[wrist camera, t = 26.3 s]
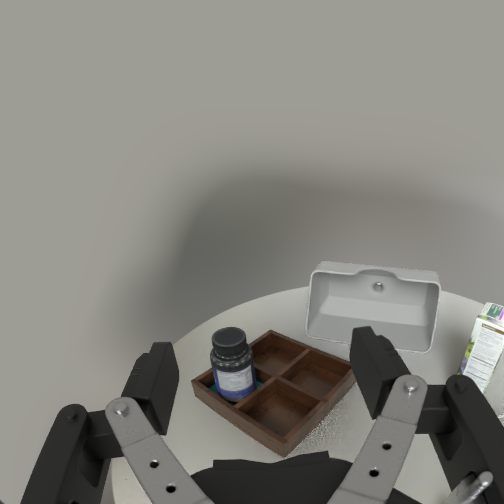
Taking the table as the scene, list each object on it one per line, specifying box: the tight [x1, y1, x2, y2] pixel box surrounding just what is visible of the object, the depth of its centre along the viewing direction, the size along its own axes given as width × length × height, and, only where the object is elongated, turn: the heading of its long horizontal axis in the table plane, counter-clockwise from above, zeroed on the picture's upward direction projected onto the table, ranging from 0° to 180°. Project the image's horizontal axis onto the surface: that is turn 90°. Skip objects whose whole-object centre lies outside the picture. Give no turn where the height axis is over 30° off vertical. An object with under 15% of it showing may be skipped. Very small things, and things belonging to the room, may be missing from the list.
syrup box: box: [457, 302, 504, 394], centre depth 35 cm, size 6×6×14 cm
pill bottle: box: [210, 327, 257, 404], centre depth 43 cm, size 6×6×11 cm
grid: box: [191, 330, 356, 458], centre depth 45 cm, size 18×18×4 cm
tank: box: [305, 261, 441, 353], centre depth 58 cm, size 25×16×12 cm, turn 63°
